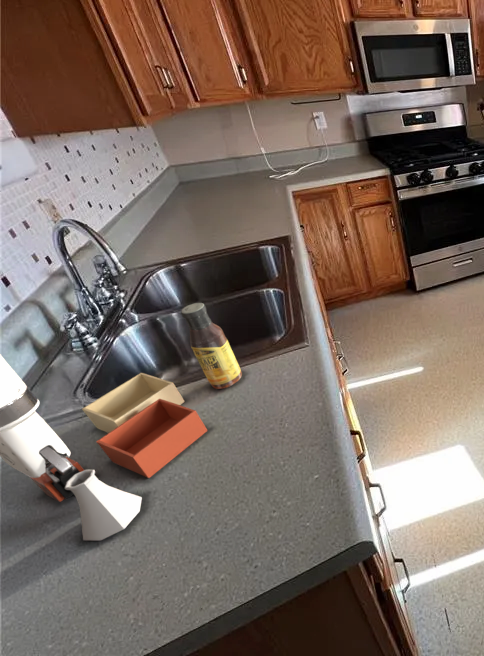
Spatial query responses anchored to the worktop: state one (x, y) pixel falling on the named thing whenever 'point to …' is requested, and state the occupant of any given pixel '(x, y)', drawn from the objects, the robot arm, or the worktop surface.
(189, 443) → the terracotta bin
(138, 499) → the flask
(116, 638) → the worktop surface
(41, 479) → the terracotta block
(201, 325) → the sauce bottle
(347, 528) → the worktop surface
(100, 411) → the cream bin
